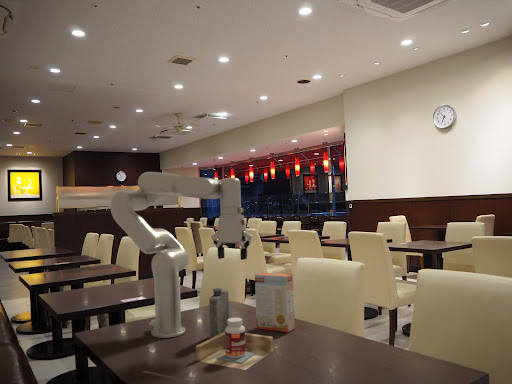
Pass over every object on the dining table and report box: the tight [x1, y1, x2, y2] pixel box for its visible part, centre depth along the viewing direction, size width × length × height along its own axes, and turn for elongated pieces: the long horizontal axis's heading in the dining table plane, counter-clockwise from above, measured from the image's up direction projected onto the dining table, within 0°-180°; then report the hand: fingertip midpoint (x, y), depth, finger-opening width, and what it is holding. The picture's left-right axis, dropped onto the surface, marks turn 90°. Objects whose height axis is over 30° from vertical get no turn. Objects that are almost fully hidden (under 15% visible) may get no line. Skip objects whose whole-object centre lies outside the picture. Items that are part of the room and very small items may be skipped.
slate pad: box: [216, 351, 256, 364], centre depth 131 cm, size 9×9×1 cm
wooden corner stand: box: [195, 332, 274, 371], centre depth 132 cm, size 18×18×5 cm
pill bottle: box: [225, 317, 246, 358], centre depth 131 cm, size 6×6×11 cm
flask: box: [208, 287, 230, 339], centre depth 151 cm, size 4×14×18 cm, turn 165°
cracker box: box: [254, 272, 296, 333], centre depth 162 cm, size 14×6×21 cm, turn 58°
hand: (232, 258), depth 153 cm, fingers open, 9 cm apart
